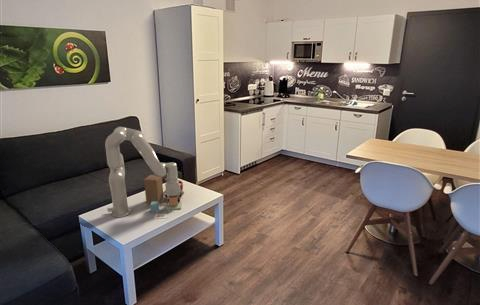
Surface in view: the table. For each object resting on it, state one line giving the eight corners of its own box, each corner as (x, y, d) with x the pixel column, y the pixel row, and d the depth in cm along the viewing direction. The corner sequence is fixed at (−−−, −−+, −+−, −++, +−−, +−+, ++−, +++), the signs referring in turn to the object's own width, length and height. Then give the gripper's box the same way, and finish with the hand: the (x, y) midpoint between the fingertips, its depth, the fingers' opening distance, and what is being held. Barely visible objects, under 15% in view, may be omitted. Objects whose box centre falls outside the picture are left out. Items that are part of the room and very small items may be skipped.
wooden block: (158, 205, 231) (156, 180, 225) (146, 204, 233) (143, 179, 227) (164, 199, 240) (162, 175, 234) (152, 198, 242) (149, 174, 236)
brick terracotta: (169, 205, 225) (168, 198, 223) (170, 201, 231) (169, 194, 229) (178, 205, 226) (177, 197, 224) (178, 201, 232) (178, 194, 230)
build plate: (166, 210, 224) (166, 208, 224) (168, 203, 233) (168, 202, 233) (180, 209, 225) (180, 207, 225) (181, 202, 234) (181, 201, 234)
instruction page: (154, 218, 212) (154, 218, 212) (155, 214, 218) (155, 214, 217) (166, 218, 213) (166, 217, 213) (167, 213, 218) (167, 213, 218)
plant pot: (163, 199, 240) (162, 185, 237) (171, 192, 252) (170, 178, 249) (178, 201, 236) (177, 187, 233) (186, 194, 248) (185, 180, 245)
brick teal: (151, 212, 221) (150, 204, 219) (152, 209, 225) (151, 201, 223) (158, 212, 221) (157, 204, 219) (159, 208, 226) (158, 201, 224)
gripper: (159, 182, 219) (161, 205, 224) (184, 181, 220) (185, 204, 226) (160, 178, 226) (162, 201, 231) (185, 177, 227) (186, 200, 233)
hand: (174, 202), depth 228 cm, fingers closed on brick terracotta, 5 cm apart
